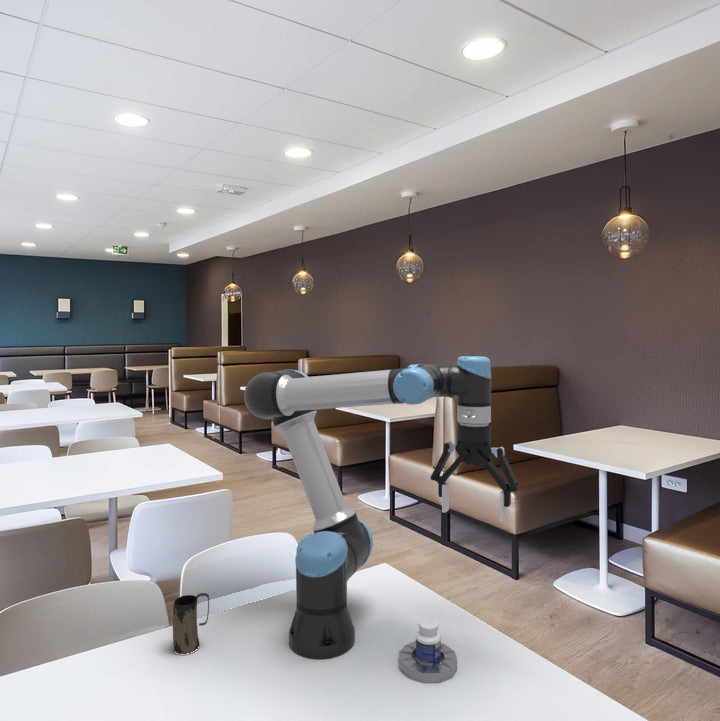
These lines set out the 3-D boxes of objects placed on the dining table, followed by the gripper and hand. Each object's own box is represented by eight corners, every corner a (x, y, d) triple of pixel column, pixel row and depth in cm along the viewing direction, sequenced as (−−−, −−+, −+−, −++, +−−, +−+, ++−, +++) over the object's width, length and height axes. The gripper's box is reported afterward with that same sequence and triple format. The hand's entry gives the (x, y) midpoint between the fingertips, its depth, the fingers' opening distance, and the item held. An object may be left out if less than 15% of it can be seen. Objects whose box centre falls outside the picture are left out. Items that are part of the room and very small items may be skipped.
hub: (389, 671, 114) (389, 658, 114) (413, 643, 125) (413, 631, 125) (444, 689, 108) (444, 675, 108) (464, 658, 119) (464, 646, 119)
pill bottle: (439, 673, 114) (439, 631, 113) (414, 670, 115) (414, 628, 114) (441, 658, 119) (441, 618, 119) (417, 655, 120) (417, 616, 120)
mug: (171, 656, 120) (170, 603, 119) (174, 643, 125) (173, 591, 125) (209, 652, 122) (208, 599, 121) (210, 638, 127) (209, 588, 127)
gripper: (417, 422, 128) (417, 511, 129) (525, 430, 116) (524, 529, 116) (429, 417, 135) (429, 503, 135) (533, 425, 122) (532, 519, 123)
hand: (473, 515), depth 126 cm, fingers open, 13 cm apart
